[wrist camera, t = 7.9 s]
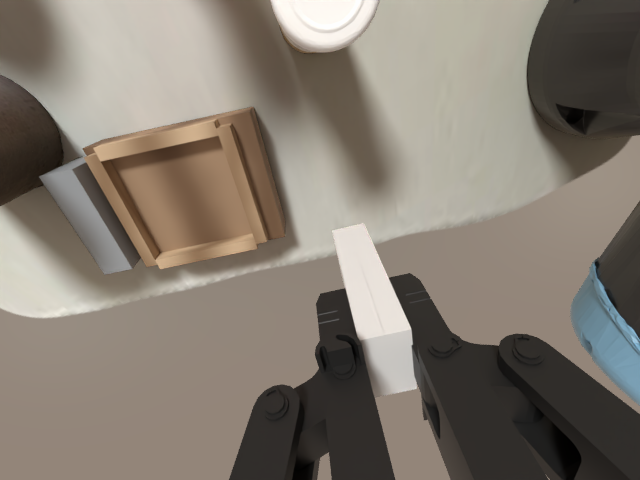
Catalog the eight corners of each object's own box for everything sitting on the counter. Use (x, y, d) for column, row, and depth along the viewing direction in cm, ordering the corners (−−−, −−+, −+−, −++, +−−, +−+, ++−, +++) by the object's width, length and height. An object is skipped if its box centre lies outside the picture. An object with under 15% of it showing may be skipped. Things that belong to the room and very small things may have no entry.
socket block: (253, 106, 26) (247, 114, 23) (285, 222, 32) (285, 243, 28) (102, 139, 27) (73, 152, 23) (160, 248, 32) (144, 272, 29)
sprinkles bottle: (307, -36, 22) (328, -140, 11) (350, 20, 24) (408, -15, 12) (264, 19, 24) (241, -19, 12) (308, 68, 25) (325, 77, 14)
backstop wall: (106, 151, 27) (72, 169, 23) (153, 240, 32) (132, 268, 27) (78, 157, 27) (38, 176, 23) (129, 245, 32) (104, 274, 27)
